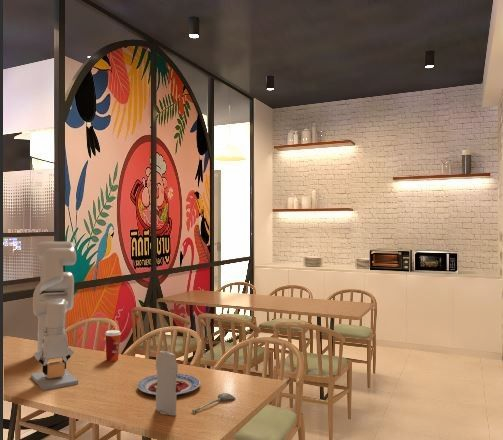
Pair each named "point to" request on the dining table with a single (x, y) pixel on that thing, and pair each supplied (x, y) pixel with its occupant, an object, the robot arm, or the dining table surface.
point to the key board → (54, 380)
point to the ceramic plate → (182, 384)
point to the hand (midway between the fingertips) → (54, 372)
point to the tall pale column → (166, 383)
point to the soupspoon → (220, 397)
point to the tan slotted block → (55, 369)
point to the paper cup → (112, 345)
